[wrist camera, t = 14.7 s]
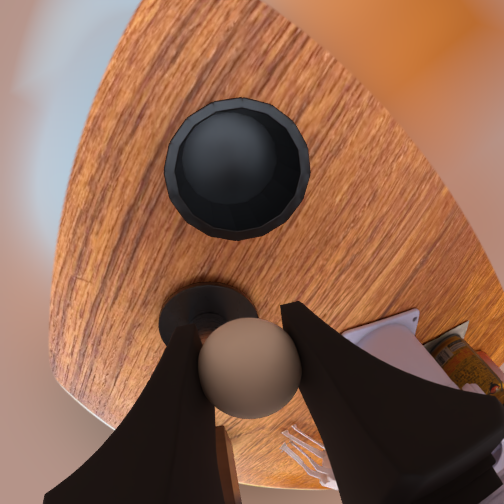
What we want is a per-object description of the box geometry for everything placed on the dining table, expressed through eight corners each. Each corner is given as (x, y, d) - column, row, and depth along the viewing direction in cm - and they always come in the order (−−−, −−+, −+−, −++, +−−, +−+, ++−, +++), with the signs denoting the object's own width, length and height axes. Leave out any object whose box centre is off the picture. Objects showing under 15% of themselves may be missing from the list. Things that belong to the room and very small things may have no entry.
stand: (232, 444, 29) (244, 518, 21) (194, 449, 29) (200, 522, 20) (223, 425, 27) (235, 507, 19) (182, 431, 27) (186, 512, 18)
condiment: (456, 361, 31) (506, 422, 20) (403, 389, 30) (451, 463, 20) (468, 319, 28) (532, 384, 17) (411, 348, 27) (474, 431, 17)
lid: (262, 344, 23) (276, 393, 19) (175, 361, 23) (174, 411, 18) (248, 267, 20) (263, 311, 16) (147, 287, 20) (135, 335, 15)
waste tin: (288, 200, 19) (315, 226, 15) (186, 219, 18) (182, 252, 14) (275, 98, 16) (301, 90, 12) (165, 116, 16) (151, 114, 11)
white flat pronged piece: (287, 396, 36) (371, 457, 35) (275, 459, 25) (378, 514, 24) (297, 389, 35) (381, 451, 35) (289, 451, 24) (391, 508, 24)
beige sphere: (290, 357, 10) (315, 423, 8) (208, 374, 10) (214, 444, 8) (283, 288, 9) (314, 355, 7) (185, 308, 9) (183, 383, 6)
